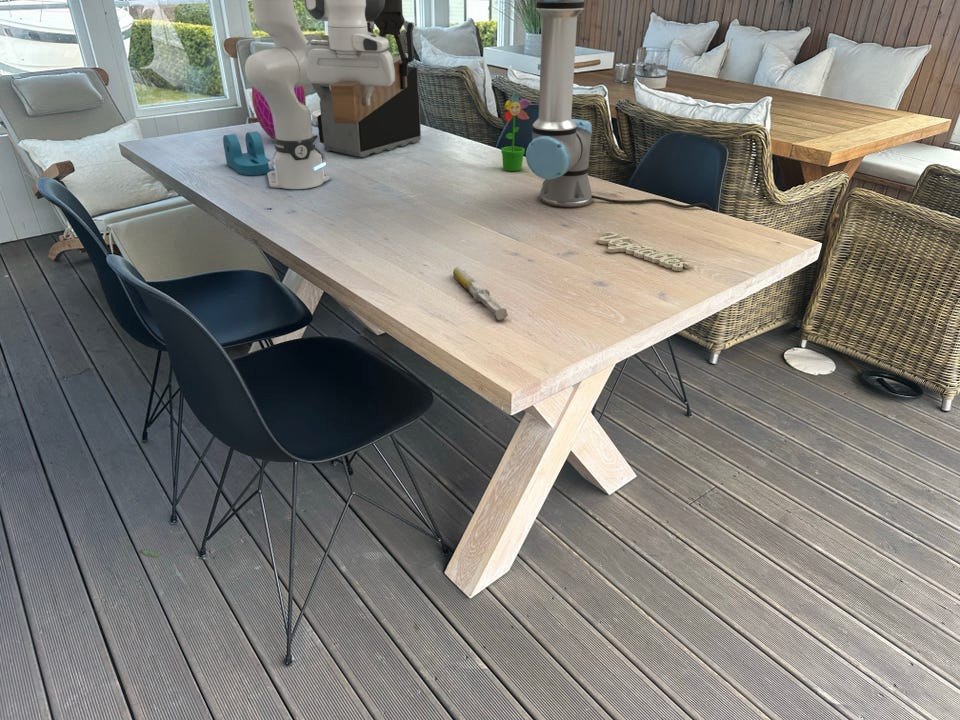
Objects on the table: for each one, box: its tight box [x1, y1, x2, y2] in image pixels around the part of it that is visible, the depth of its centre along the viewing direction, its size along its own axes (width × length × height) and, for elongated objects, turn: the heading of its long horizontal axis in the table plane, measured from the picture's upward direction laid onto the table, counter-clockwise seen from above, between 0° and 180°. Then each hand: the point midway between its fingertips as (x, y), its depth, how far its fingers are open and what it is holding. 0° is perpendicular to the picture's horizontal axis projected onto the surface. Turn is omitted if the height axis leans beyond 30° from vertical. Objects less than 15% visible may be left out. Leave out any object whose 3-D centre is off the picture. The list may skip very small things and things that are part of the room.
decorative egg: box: [251, 86, 307, 140], centre depth 257 cm, size 19×19×30 cm
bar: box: [331, 55, 407, 124], centre depth 178 cm, size 53×5×8 cm, turn 173°
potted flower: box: [500, 91, 532, 172], centre depth 226 cm, size 9×8×25 cm
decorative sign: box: [598, 231, 690, 272], centre depth 167 cm, size 26×1×10 cm
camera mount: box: [222, 131, 272, 176], centre depth 226 cm, size 18×10×10 cm, turn 35°
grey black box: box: [311, 65, 422, 159], centre depth 250 cm, size 37×22×30 cm, turn 144°
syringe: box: [452, 266, 509, 321], centre depth 145 cm, size 25×4×3 cm, turn 21°
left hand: (353, 104), depth 162 cm, fingers closed on bar, 5 cm apart
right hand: (392, 88), depth 196 cm, fingers closed on bar, 5 cm apart
